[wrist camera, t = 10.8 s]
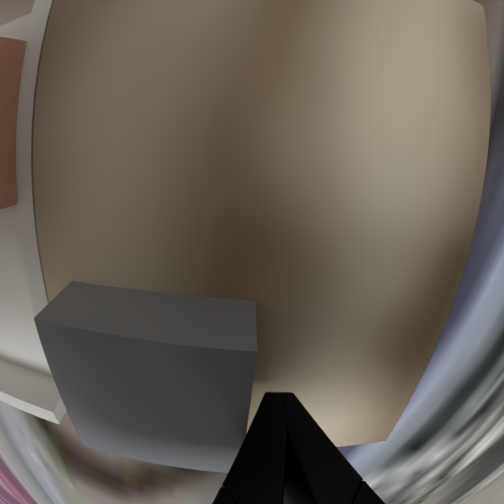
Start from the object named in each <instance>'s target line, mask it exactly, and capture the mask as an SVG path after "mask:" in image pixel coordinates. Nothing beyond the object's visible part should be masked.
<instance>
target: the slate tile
mask: <svg viewBox="0 0 504 504" xmlns="http://www.w3.org/2000/svg"><path fill="white" fill-rule="evenodd" d="M34 321H35V325H36V328H37V332H38V335H39V338H40V342H41V345H42V348H43V351H44V354H45V357H46V360H47V363H48V365H49V368H50V371H51V374H52V376H53V379H54V381H55V384H56V386H57V389H58V391H59V394H60V396H61V398H62V401H63V403H64V405H65V408H66V410H67V412H68V414H69V416H70V419H71V421H72V423H73V425H74V427H75V429H76V431H77V433H78V435H79V437H80V439H81V441H82V443H83V445H84V446H86V447H89V448H93V449H96V450H100V451H103V452H107V453H111V454H114V455H118V456H122V457H127V458H131V459H135V460H140V461H145V462H150V463H155V464H161V465H167V466H173V467H179V468H187V469H194V470H203V471H213V472H225V473H228V472H229V470H230V468H231V466H232V464H233V462H234V460H235V457H236V455H237V453H238V451H239V449H240V447H241V445H242V443H243V440H244V438H245V436H246V432H247V425H248V417H249V410H250V403H251V396H252V389H253V381H254V374H255V366H256V359H257V327H256V301H251V300H238V299H225V298H214V297H203V296H192V295H182V294H172V293H163V292H154V291H145V290H136V289H128V288H120V287H112V286H104V285H97V284H90V283H83V282H76V281H72V282H70V283H69V284H68V285H67V286H66V287H65V288H64V289H63V290H62V291H61V292H60V293H59V294H58V295H57V296H56V297H55V298H54V299H53V300H51V301H50V302H49V303H48V304H47V305H46V306H45V307H44V308H43V309H42V310H41V311H40V312H39V313H38V314H37V315H36V316H35V317H34Z"/></svg>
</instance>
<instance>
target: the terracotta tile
mask: <svg viewBox="0 0 504 504" xmlns="http://www.w3.org/2000/svg"><path fill="white" fill-rule="evenodd" d="M26 44H27V41H23V40H18V39H12V38H6V37H0V210H1V209H4V208H7V207H10V206H13V205H16V204H18V200H17V185H16V123H17V108H18V97H19V88H20V80H21V72H22V66H23V60H24V54H25V49H26Z"/></svg>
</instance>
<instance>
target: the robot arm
mask: <svg viewBox="0 0 504 504" xmlns="http://www.w3.org/2000/svg"><path fill="white" fill-rule="evenodd" d="M362 480H363V479H362V477H361V476H360V475H359V474H358V473H357V471H356V470H355V469H354V468H353V467H352V465H351V464H350V463H349V462H348V461H347V459H346V458H345V457H344V456H343V455H342V453H341V452H340V451H339V450H338V448H337V447H336V446H335V445H334V444H333V442H332V441H331V440H330V439H329V437H328V436H327V435H326V434H325V432H324V431H323V430H322V429H321V427H320V426H319V425H318V424H317V422H316V421H315V420H314V419H313V417H312V416H311V415H310V413H309V412H308V411H307V410H306V408H305V407H304V406H303V404H302V403H301V402H300V401H299V399H298V398H297V397H296V395H295V394H294V393H292V392H265V393H264V395H263V398H262V400H261V402H260V405H259V407H258V409H257V412H256V414H255V416H254V418H253V421H252V423H251V425H250V427H249V429H248V432H247V434H246V436H245V438H244V440H243V443H242V445H241V447H240V449H239V451H238V453H237V455H236V457H235V460H234V462H233V464H232V466H231V468H230V470H229V472H228V474H227V476H226V478H225V480H224V482H223V484H222V487H221V488H220V490H219V492H218V494H217V496H216V498H215V500H214V501H213V503H212V504H385V503H384V502H383V501H382V500H381V499H380V497H379V496H378V495H377V494H376V493H375V492H374V491H373V490H372V489H371V488H370V487H369V485H368V484H367V483H366V482H365V481H362Z"/></svg>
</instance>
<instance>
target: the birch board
mask: <svg viewBox="0 0 504 504" xmlns="http://www.w3.org/2000/svg"><path fill="white" fill-rule="evenodd" d="M490 112H491V73H490V55H489V43H488V33H487V25H486V18H485V11H484V6H483V5H481V4H479V3H478V2H476V1H474V0H54V3H53V6H52V10H51V14H50V18H49V22H48V26H47V30H46V35H45V40H44V45H43V50H42V56H41V62H40V68H39V75H38V83H37V92H36V102H35V114H34V133H33V180H34V200H35V212H36V223H37V232H38V240H39V248H40V254H41V261H42V267H43V272H44V278H45V283H46V288H47V293H48V298H49V302H50V301H51V300H53V299H54V298H55V297H56V296H57V295H58V294H59V293H60V292H61V291H62V290H63V289H64V288H65V287H66V286H67V285H68V284H69V283H70V282H72V281H76V282H83V283H90V284H97V285H104V286H112V287H120V288H128V289H136V290H145V291H154V292H163V293H172V294H182V295H192V296H203V297H214V298H225V299H238V300H251V301H256V327H257V359H256V366H255V374H254V381H253V389H252V396H251V403H250V410H249V417H248V425H247V432H248V429H249V427H250V425H251V423H252V421H253V418H254V416H255V414H256V412H257V409H258V407H259V405H260V402H261V400H262V398H263V395H264V393H265V392H292V393H294V394H295V395H296V397H297V398H298V399H299V401H300V402H301V403H302V404H303V406H304V407H305V408H306V410H307V411H308V412H309V413H310V415H311V416H312V417H313V419H314V420H315V421H316V422H317V424H318V425H319V426H320V427H321V429H322V430H323V431H324V432H325V434H326V435H327V436H328V437H329V439H330V440H331V441H332V442H333V444H334V445H335V446H336V447H339V446H349V445H358V444H366V443H373V442H380V441H386V440H387V438H388V436H389V435H390V433H391V432H392V430H393V428H394V427H395V425H396V423H397V422H398V420H399V418H400V417H401V415H402V413H403V411H404V410H405V408H406V406H407V404H408V403H409V401H410V399H411V397H412V395H413V393H414V391H415V389H416V388H417V386H418V384H419V382H420V380H421V378H422V376H423V374H424V372H425V370H426V367H427V365H428V363H429V361H430V359H431V357H432V354H433V352H434V350H435V348H436V345H437V343H438V341H439V338H440V336H441V334H442V331H443V329H444V326H445V324H446V321H447V319H448V316H449V313H450V311H451V308H452V305H453V302H454V299H455V297H456V294H457V291H458V288H459V285H460V281H461V278H462V275H463V272H464V268H465V265H466V262H467V258H468V254H469V251H470V247H471V243H472V239H473V235H474V231H475V226H476V222H477V217H478V212H479V207H480V202H481V197H482V191H483V185H484V178H485V171H486V163H487V154H488V144H489V132H490ZM247 432H246V434H247Z"/></svg>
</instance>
